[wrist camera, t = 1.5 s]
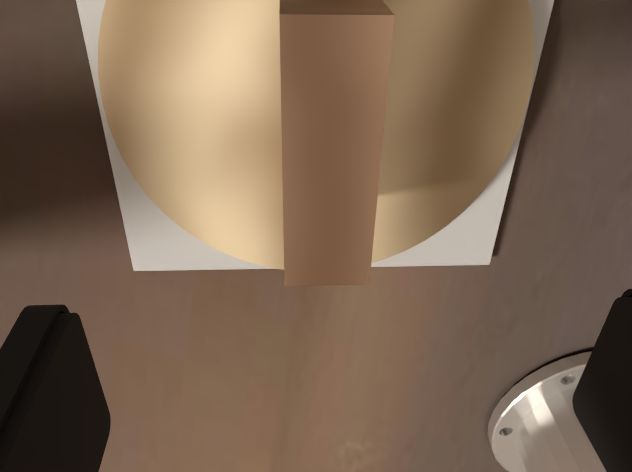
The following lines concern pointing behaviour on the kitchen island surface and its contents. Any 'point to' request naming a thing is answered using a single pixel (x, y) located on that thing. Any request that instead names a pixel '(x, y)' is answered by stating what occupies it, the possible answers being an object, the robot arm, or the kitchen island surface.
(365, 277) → the lid
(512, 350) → the kitchen island surface
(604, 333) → the robot arm
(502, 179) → the mat
